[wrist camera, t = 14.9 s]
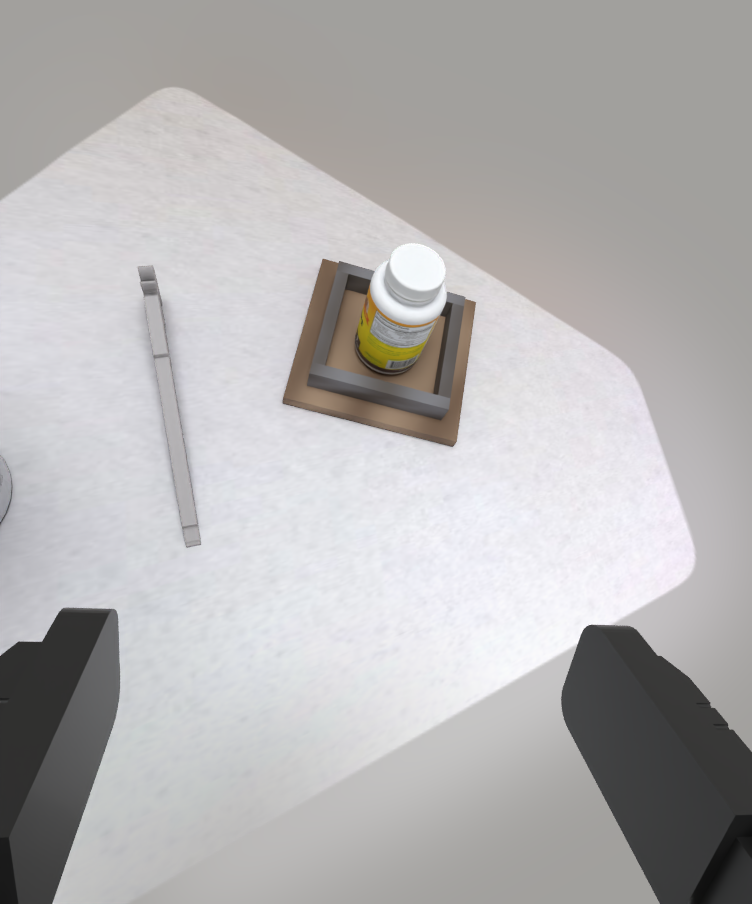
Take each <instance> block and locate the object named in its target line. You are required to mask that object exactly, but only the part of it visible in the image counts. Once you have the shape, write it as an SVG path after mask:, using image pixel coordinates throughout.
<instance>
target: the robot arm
mask: <svg viewBox="0 0 752 904" xmlns="http://www.w3.org/2000/svg"><path fill="white" fill-rule="evenodd" d="M11 489H12V483H11V477H10V472H9V470H8V467H7V465H6V463H5V461H4V459H3V458H2V457H1V456H0V522H1V520H2V519H3V517H4V515H5V514H6V511H7V508H8V505H9V502H10V499H11ZM119 693H120V664H119V632H118V615H117V611H116V610H115V609H92V608H63V609H62V610H61V611H60V612H59V613H58V615H57V617H56V618H55V620H54V622H53V624H52V625H51V627H50V629H49V631H48V632H47V634H46V636H45V638H44V639H43V641H42V642H17V643H16V644H15V645H14V646H12V647H11V648H10V649H9V650H7V651H6V652H5V653H3V654H2V655H1V656H0V904H52V902H53V899H54V896H55V894H56V891H57V888H58V885H59V882H60V879H61V876H62V873H63V870H64V867H65V864H66V862H67V859H68V856H69V853H70V850H71V847H72V844H73V841H74V838H75V835H76V833H77V830H78V827H79V824H80V821H81V818H82V815H83V812H84V809H85V806H86V803H87V801H88V798H89V795H90V792H91V789H92V786H93V783H94V780H95V777H96V774H97V771H98V769H99V766H100V763H101V760H102V757H103V754H104V751H105V748H106V745H107V742H108V739H109V737H110V734H111V731H112V728H113V725H114V721H115V717H116V713H117V708H118V702H119ZM561 698H562V699H561V701H562V712H563V716H564V720H565V723H566V725H567V727H568V729H569V731H570V733H571V735H572V737H573V739H574V741H575V743H576V745H577V747H578V749H579V750H580V752H581V754H582V756H583V758H584V760H585V762H586V764H587V766H588V768H589V769H590V771H591V773H592V775H593V777H594V779H595V781H596V783H597V785H598V787H599V788H600V790H601V792H602V794H603V796H604V798H605V800H606V802H607V804H608V806H609V807H610V809H611V811H612V813H613V815H614V817H615V819H616V821H617V823H618V825H619V826H620V828H621V830H622V832H623V834H624V836H625V838H626V840H627V842H628V844H629V845H630V847H631V849H632V851H633V853H634V855H635V857H636V859H637V861H638V863H639V865H640V866H641V868H642V870H643V872H644V874H645V876H646V878H647V880H648V882H649V883H650V885H651V887H652V889H653V891H654V893H655V895H656V897H657V899H658V901H659V902H660V904H752V752H751V751H750V750H749V748H748V747H747V746H746V745H745V744H744V742H743V741H742V740H741V739H740V738H739V736H738V735H737V734H736V733H735V732H734V730H729V728H728V723H727V722H726V721H725V720H724V719H723V717H722V716H721V715H720V714H719V713H718V712H717V710H716V709H715V708H711V706H710V702H709V701H708V699H707V698H706V697H705V696H704V695H703V694H702V692H701V691H700V690H699V689H698V688H697V686H696V685H695V684H694V683H693V682H692V680H691V679H690V678H689V677H688V676H686V675H685V674H684V673H682V672H681V671H680V670H679V669H677V668H676V667H674V666H673V665H672V664H671V663H669V662H668V661H667V660H666V659H664V658H663V657H662V656H657V655H656V653H655V652H654V651H653V650H652V648H651V647H650V646H649V645H648V644H647V642H646V641H645V640H644V639H643V637H642V636H641V635H640V634H639V632H638V631H637V630H636V629H634V628H633V627H630V626H615V625H589V626H587V627H586V628H585V629H584V630H583V632H582V634H581V637H580V640H579V642H578V645H577V648H576V652H575V654H574V657H573V660H572V663H571V666H570V669H569V672H568V675H567V677H566V681H565V683H564V686H563V690H562V697H561Z"/></svg>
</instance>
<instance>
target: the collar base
mask: <svg viewBox="0 0 752 904" xmlns="http://www.w3.org/2000/svg"><path fill="white" fill-rule="evenodd" d="M374 272H375V271H372V270H369V269H365V268H362V267H358V266H355V265H351V264H348V263H344V262H341V261H339V263H336V262H333V261H329V260H326V259H323V260H322V264H321V267H320V271H319V274H318V278H317V281H316V285H315V288H314V292H313V295H312V299H311V302H310V306H309V309H308V313H307V316H306V320H305V323H304V327H303V330H302V334H301V337H300V341H299V344H298V348H297V351H296V355H295V358H294V362H293V365H292V369H291V372H290V376H289V379H288V383H287V386H286V390H285V393H284V397H283V403H284V404H288V405H292V406H296V407H300V408H304V409H307V410H311V411H315V412H319V413H323V414H327V415H331V416H335V417H339V418H343V419H347V420H351V421H355V422H358V423H362V424H366V425H370V426H374V427H378V428H382V429H386V430H390V431H394V432H398V433H402V434H406V435H409V436H413V437H417V438H421V439H425V440H429V441H433V442H437V443H441V444H445V445H449V446H453V445H454V444H455V443H456V442H457V435H458V428H459V421H460V413H461V406H462V399H463V392H464V384H465V377H466V370H467V363H468V355H469V348H470V341H471V334H472V326H473V319H474V312H475V305H476V302H474V301H470V300H467V299H465V297H464V296H460V295H457V294H453V293H450V292H447V299H446V303H445V306H444V308H443V310H442V312H441V314H440V316H439V318H438V320H437V322H436V324H435V326H434V328H433V330H432V332H431V334H430V336H429V338H428V340H427V342H426V344H425V346H424V348H423V350H422V352H421V354H420V356H419V358H418V360H417V362H416V363H415V364H414V365H413V366H412V367H411V368H410V369H408V370H407V371H405V372H402V373H399V374H383V373H380V372H377V371H375V370H373V369H371V368H370V367H368V366H367V365H366V364H365V363H364V362H363V361H362V360H361V359H360V357H359V355H358V353H357V351H356V347H355V335H356V331H357V328H358V324H359V321H360V317H361V313H362V310H363V306H364V303H365V299H366V296H367V292H368V289H369V285H370V282H371V279H372V276H373V274H374Z"/></svg>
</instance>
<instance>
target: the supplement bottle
mask: <svg viewBox="0 0 752 904" xmlns="http://www.w3.org/2000/svg"><path fill="white" fill-rule="evenodd" d="M445 276H446V268H445V264H444V262H443V260H442V258H441V257H440V256H439V255H438V254H437V253H436V252H435V251H434V250H432V249H431V248H429V247H427V246H424V245H421V244H415V243H410V244H404V245H401V246H399V247H398V248H396V249H395V250H394V251H393V253H392V254H391V256H390V259H388V260H386V261H385V262H383V263H382V264H381V265H379V267H378V268H377V269H376V270H375V272H374V274H373V276H372V279H371V282H370V285H369V289H368V292H367V296H366V299H365V303H364V306H363V310H362V313H361V317H360V321H359V324H358V328H357V331H356V335H355V347H356V351H357V353H358V355H359V357H360V359H361V360H362V361H363V362H364V363H365V364H366V365H367V366H368V367H370V368H371V369H373V370H375V371H377V372H380V373H383V374H399V373H402V372H405V371H407V370H408V369H410V368H411V367H412V366H413V365H414V364H415V363H416V362H417V360H418V358H419V356H420V354H421V352H422V350H423V348H424V346H425V344H426V342H427V340H428V338H429V336H430V334H431V332H432V330H433V328H434V326H435V324H436V322H437V320H438V318H439V316H440V314H441V312H442V310H443V308H444V306H445V303H446V299H447V291H446V286H445V283H444V279H445Z"/></svg>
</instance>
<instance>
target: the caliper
mask: <svg viewBox="0 0 752 904" xmlns="http://www.w3.org/2000/svg"><path fill="white" fill-rule="evenodd" d="M138 271H139V276H140V279H141V282H140V284H141V287H142V290H143V294H144V303H145V309H146V315H147V321H148V327H149V333H150V339H151V345H152V351H153V356H154V360H155V366H156V372H157V378H158V384H159V390H160V396H161V402H162V408H163V414H164V420H165V426H166V432H167V438H168V445H169V451H170V457H171V463H172V469H173V475H174V481H175V487H176V493H177V499H178V505H179V511H180V517H181V523H182V527H183V532H184V538H185V543H186V547H190V546H195V545H200V544H201V541H200V535H199V529H198V522H197V516H196V510H195V504H194V498H193V492H192V486H191V481H190V475H189V469H188V463H187V457H186V451H185V445H184V440H183V434H182V428H181V422H180V416H179V410H178V404H177V398H176V392H175V387H174V381H173V375H172V369H171V360H170V355H169V349H168V343H167V338H166V332H165V327H164V325H165V319H164V315H163V312H162V308H161V306H162V301H161V296H160V292H159V288H158V283H157V279H156V275H155V271H154V268H153V266H138Z"/></svg>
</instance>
